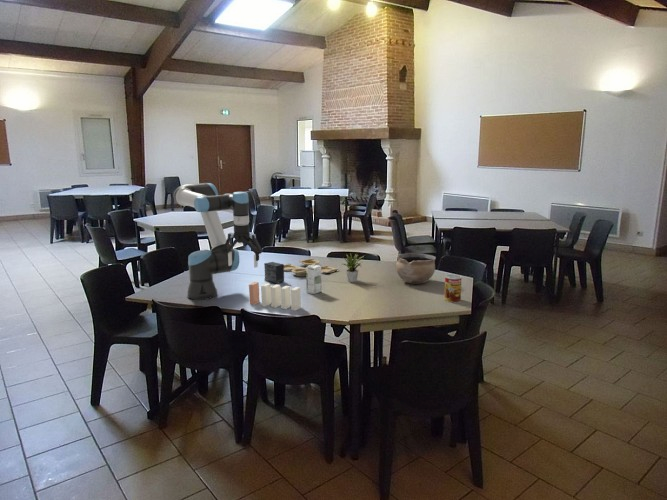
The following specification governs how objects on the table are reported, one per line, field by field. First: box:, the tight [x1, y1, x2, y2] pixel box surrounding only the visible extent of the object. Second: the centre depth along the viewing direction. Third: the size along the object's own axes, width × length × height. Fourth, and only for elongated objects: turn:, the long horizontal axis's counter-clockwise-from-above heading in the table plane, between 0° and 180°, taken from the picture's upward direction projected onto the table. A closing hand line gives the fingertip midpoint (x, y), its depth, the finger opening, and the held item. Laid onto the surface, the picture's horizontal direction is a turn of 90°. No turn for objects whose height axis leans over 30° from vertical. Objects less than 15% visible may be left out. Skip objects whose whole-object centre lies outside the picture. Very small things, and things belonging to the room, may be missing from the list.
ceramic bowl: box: [395, 252, 437, 285], centre depth 278 cm, size 22×22×15 cm
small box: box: [263, 261, 285, 285], centre depth 285 cm, size 11×6×10 cm, turn 47°
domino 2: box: [260, 282, 272, 307], centre depth 244 cm, size 2×5×10 cm, turn 155°
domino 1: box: [248, 281, 260, 305], centre depth 246 cm, size 2×5×10 cm, turn 155°
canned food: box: [444, 274, 462, 303], centre depth 246 cm, size 8×8×12 cm
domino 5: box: [290, 286, 302, 311], centre depth 237 cm, size 2×5×10 cm, turn 155°
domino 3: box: [270, 284, 282, 309], centre depth 241 cm, size 2×5×10 cm, turn 155°
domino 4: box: [280, 285, 291, 310], centre depth 239 cm, size 2×5×10 cm, turn 155°
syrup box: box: [305, 264, 322, 295], centre depth 262 cm, size 6×6×14 cm
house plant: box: [341, 252, 365, 283], centre depth 281 cm, size 14×14×16 cm
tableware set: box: [284, 257, 339, 277], centre depth 310 cm, size 35×29×4 cm
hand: (243, 266), depth 247 cm, fingers open, 13 cm apart
